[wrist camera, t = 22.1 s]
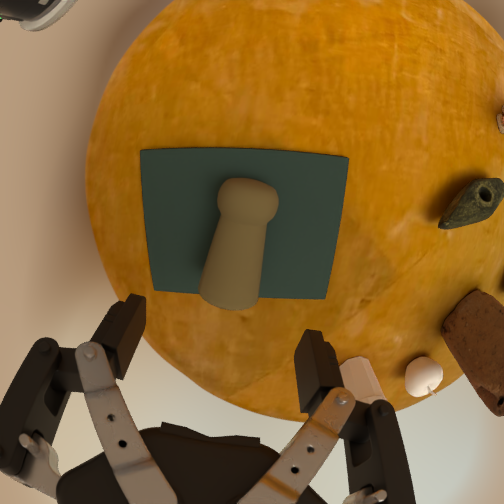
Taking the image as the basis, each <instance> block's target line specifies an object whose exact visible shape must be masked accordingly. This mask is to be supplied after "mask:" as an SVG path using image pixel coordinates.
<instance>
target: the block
mask: <svg viewBox="0 0 504 504" xmlns="http://www.w3.org/2000/svg"><path fill="white" fill-rule="evenodd" d="M441 333H442V336H443V338H444V340H445V342H446V344H447V346H448V348H449V350H450V351H451V353H452V354H453V356H454V358H455V359H456V361H457V362H458V364H459V366H460V367H461V369H462V370H463V372H464V373H465V375H466V377H467V378H468V380H469V382H470V383H471V385H472V386H473V388H474V389H475V391H476V392H477V394H478V395H479V397H480V398H481V399H482V401H483V402H484V404H485V405H486V406H487V407H488V408H489V409H490V411H491V412H492V413H494V414H495V415H496V416H499V417H500V416H504V306H503V305H501V304H500V303H499V302H498V301H497V300H496V299H495V298H494V297H493V296H491V295H489V294H487V293H485V292H480V291H479V290H476V291H473V292H472V293H471V294H469V295H467V296H466V297H465V298H464V299H463V300H462V301H461V302H460V303H459V304H458V305H457V306H456V309H455V310H454V311H453V312H451V314H450V315H449V316H448V317H447V318H446V320H445V322H444V325H443V326H442V328H441Z"/></svg>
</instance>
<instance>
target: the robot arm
mask: <svg viewBox="0 0 504 504" xmlns="http://www.w3.org/2000/svg"><path fill="white" fill-rule="evenodd" d="M60 1H61V0H0V22H1V21H2V19H7V20H11V19H12V20H16V21H21V22H22V21H24V20H25V21H30V22H32V21H36V20H39V19H41V18H42V17H44V16H45V15H47V14H48V13H49V12H50V11H52V10H53V9H54V8H55V7H56V6H57V5H58V4H59V3H60ZM145 325H146V298H145V297H144V296H140V295H136V294H132V293H131V294H130V295H129V296H128V298H127V300H126V301H125V302H123V301H118V302H117V303H115V304H114V305H112V306H111V308H110V309H109V311H108V312H107V314H106V315H105V317H104V319H103V320H102V322H101V323H100V325H99V327H98V328H97V330H96V331H95V333H94V335H93V336H92V338H91V340H90V341H89V342H84V343H82V344H80V345H79V346H78V347H77V348H63V347H59V345H58V343H57V342H56V341H55V340H54V339H52V338H48V337H45V338H41V339H39V340H37V341H36V342H35V343H34V345H33V347H32V348H31V350H30V351H29V353H28V355H27V356H26V358H25V360H24V361H23V363H22V365H21V367H20V368H19V370H18V372H17V374H16V376H15V377H14V379H13V381H12V383H11V385H10V387H9V389H8V391H7V392H6V394H5V396H4V398H3V401H2V403H1V405H0V471H1V472H3V473H4V474H5V475H7V476H9V477H10V478H12V479H14V480H15V481H17V482H19V483H22V484H23V485H25V486H28V487H30V488H35V489H37V490H38V491H40V492H42V493H44V494H46V495H48V496H50V497H52V498H54V499H56V500H57V503H58V504H327V503H326V502H325V501H324V500H323V499H322V498H321V497H320V496H319V495H318V494H317V493H316V492H315V491H314V490H313V489H312V488H311V487H310V486H309V485H308V484H309V483H310V482H311V480H312V479H313V478H314V476H315V475H316V473H317V472H318V470H319V469H320V468H321V466H322V465H323V463H324V462H325V460H326V459H327V457H328V456H329V454H330V452H331V451H332V449H333V448H334V446H335V445H336V443H337V441H338V439H339V438H341V439H344V446H345V454H346V463H347V473H348V482H349V492H350V495H349V496H347V497H346V498H345V500H344V501H343V504H416V501H415V495H414V490H413V484H412V479H411V474H410V470H409V465H408V461H407V456H406V452H405V448H404V444H403V440H402V436H401V432H400V428H399V425H398V421H397V417H396V414H395V410H394V408H393V406H392V405H391V404H390V403H389V402H388V401H386V400H383V399H377V400H375V401H373V402H372V404H368V403H364V402H361V401H358V400H355V397H354V395H353V394H352V393H351V392H350V391H349V390H347V389H345V387H344V383H343V379H342V375H341V372H340V368H339V365H338V361H337V359H336V358H337V357H336V354H335V350H334V348H333V347H332V346H331V344H330V343H329V342H325V341H324V339H323V335H322V332H321V331H317V330H309V329H306V330H305V332H304V334H303V336H302V338H301V340H300V342H299V344H298V346H297V348H296V350H295V354H294V364H295V371H296V379H297V387H298V395H299V403H300V412H301V413H308V415H309V418H308V419H307V420H306V422H305V423H304V425H303V426H302V427H301V428H300V430H299V431H298V432H297V433H296V435H295V436H294V437H293V438H292V439H291V441H290V442H289V443H288V444H287V446H286V447H285V448H284V449H283V450H282V451H281V452H280V453H278V452H276V451H275V450H273V449H271V448H270V447H268V446H265V445H263V444H260V438H258V437H247V436H238V435H235V436H223V437H209V436H206V435H203V434H201V433H198V432H196V431H194V430H191V429H189V428H187V427H183V426H178V425H174V424H169V423H166V422H162V424H161V427H152V428H147V429H143V430H140V431H138V429H137V427H136V425H135V423H134V421H133V419H132V417H131V415H130V412H129V410H128V408H127V406H126V404H125V401H124V399H123V396H122V394H121V391H120V389H119V387H118V386H117V384H116V381H115V380H116V378H117V379H120V380H123V379H124V377H125V374H126V372H127V369H128V367H129V364H130V362H131V360H132V357H133V355H134V353H135V350H136V348H137V346H138V343H139V341H140V339H141V337H142V334H143V332H144V329H145ZM71 392H83V393H84V396H85V400H86V403H87V406H88V409H89V412H90V415H91V418H92V421H93V424H94V427H95V429H96V432H97V435H98V437H99V440H100V442H101V444H102V447H103V449H104V452H102V453H100V454H99V455H97V456H95V457H93V458H91V459H90V460H88V461H86V462H84V463H82V464H80V465H79V466H77V467H75V468H73V469H71V470H69V471H68V472H66V473H65V474H63V475H62V476H61V475H60V473H59V470H58V455H57V453H56V451H55V450H54V449H53V448H52V447H51V446H52V443H53V440H54V437H55V434H56V431H57V429H58V426H59V423H60V420H61V418H62V415H63V412H64V409H65V407H66V404H67V402H68V399H69V397H70V394H71Z"/></svg>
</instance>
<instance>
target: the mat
mask: <svg viewBox="0 0 504 504" xmlns="http://www.w3.org/2000/svg"><path fill="white" fill-rule="evenodd" d="M140 161H141V181H142V196H143V208H144V219H145V228H146V237H147V245H148V253H149V260H150V267H151V274H152V280H153V286H154V290H156V291H168V292H180V293H193V294H199V291H198V285H199V282H200V279H201V275H202V272H203V269H204V266H205V262H206V259H207V256H208V253H209V250H210V246H211V243H212V240H213V237H214V234H215V231H216V228H217V225H218V222H219V219H220V216H221V212H220V210H219V208H218V203H217V197H218V192H219V190H220V188H221V186H222V184H223V183H224V182H225V181H226V180H228V179H231V178H249V179H254V180H258V181H261V182H263V183H266V184H268V185H270V186H271V187H273V188H274V189H275V190H276V192H277V195H278V198H279V205H278V209H277V212H276V214H275V216H274V217H273V218H272V219H271V220H270V221H269V222H268V223H267V228H266V237H265V245H264V254H263V263H262V271H261V280H260V288H259V296H258V297H262V298H289V299H325V297H326V293H327V288H328V284H329V279H330V274H331V269H332V264H333V259H334V254H335V249H336V244H337V238H338V232H339V227H340V221H341V214H342V208H343V201H344V194H345V187H346V180H347V172H348V163H349V158H347V157H343V156H335V155H327V154H318V153H309V152H299V151H287V150H273V149H255V148H222V147H195V148H162V149H145V150H141V151H140Z"/></svg>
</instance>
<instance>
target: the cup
mask: <svg viewBox="0 0 504 504" xmlns="http://www.w3.org/2000/svg"><path fill="white" fill-rule="evenodd" d="M339 368H340V372H341V375H342V379H343V383H344V387H345V389H347V390H349V391H350V392H351V393H352V394H353V395H354V397H355V400H358V401H361V402H364V403H368V404H372V402H373V401H375V400H377V399H383V400H386V401H387V399H386V398H385V397H384V394H383V392H382V390H381V387H380V385H379V383H378V380H377V378H376V376H375V374H374V371H373V369H372V367H371V365H370V362H369V360H368V359H366V358H364V357H361V356H359V357H355V358H351V359H347V360H346V361H345V362H344V363H343V364H342V365H341V366H339Z"/></svg>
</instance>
